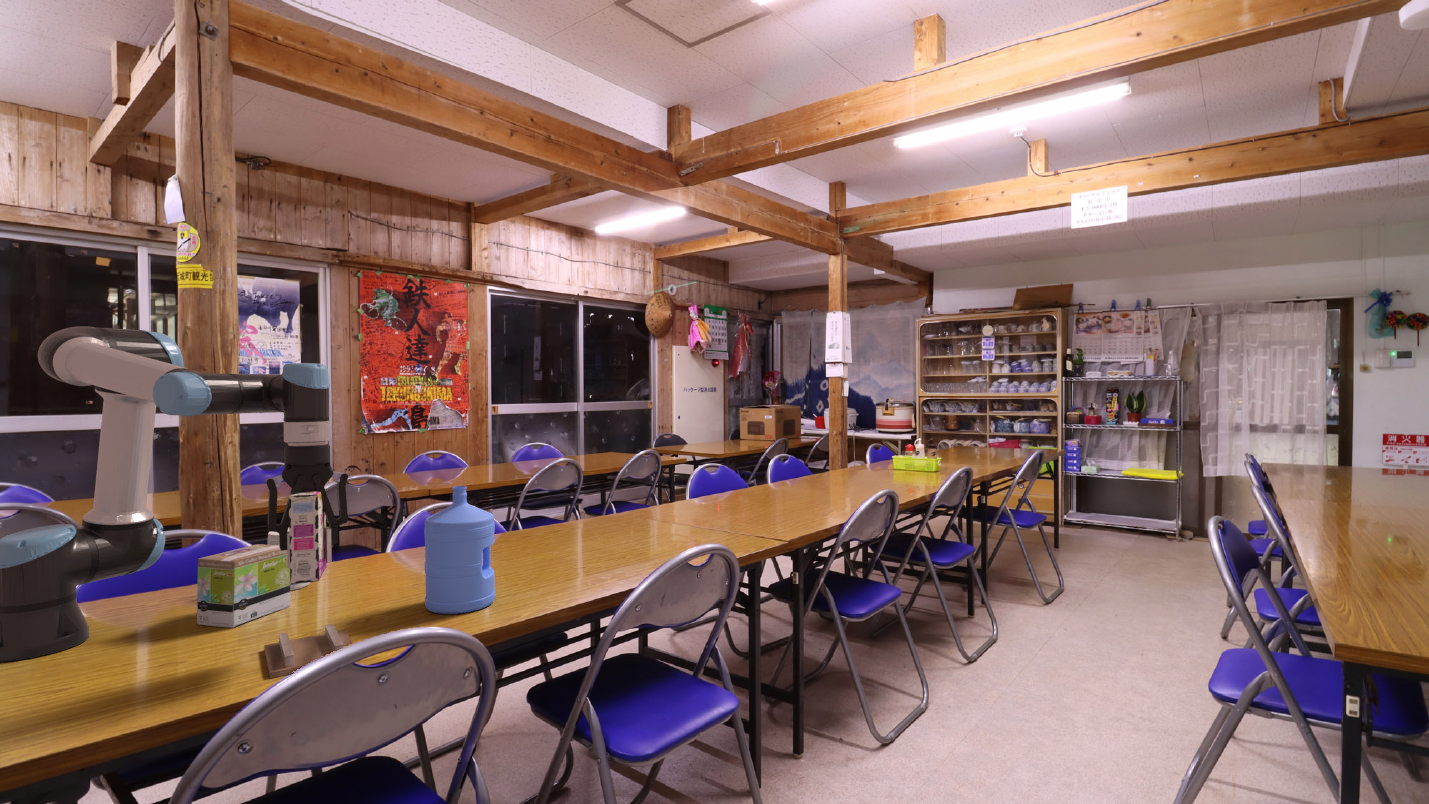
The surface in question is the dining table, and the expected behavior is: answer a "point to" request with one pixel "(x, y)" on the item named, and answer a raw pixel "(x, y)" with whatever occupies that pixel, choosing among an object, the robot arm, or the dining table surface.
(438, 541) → the water jug
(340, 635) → the brown flat ridged block
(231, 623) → the tea box
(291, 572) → the candy bar box
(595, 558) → the dining table surface
